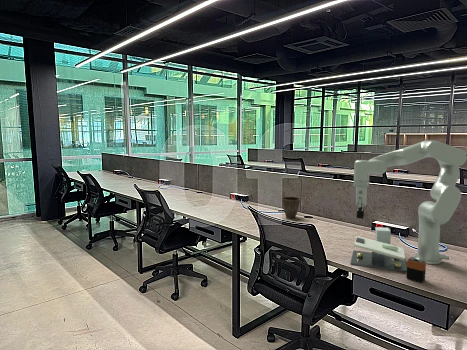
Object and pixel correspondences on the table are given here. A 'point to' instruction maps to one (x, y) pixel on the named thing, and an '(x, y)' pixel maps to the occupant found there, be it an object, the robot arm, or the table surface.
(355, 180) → the robot arm
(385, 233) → the supplement box
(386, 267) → the tribrach base
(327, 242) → the table surface
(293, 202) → the plant pot
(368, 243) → the level plate
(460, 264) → the table surface
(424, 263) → the battery
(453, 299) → the table surface
